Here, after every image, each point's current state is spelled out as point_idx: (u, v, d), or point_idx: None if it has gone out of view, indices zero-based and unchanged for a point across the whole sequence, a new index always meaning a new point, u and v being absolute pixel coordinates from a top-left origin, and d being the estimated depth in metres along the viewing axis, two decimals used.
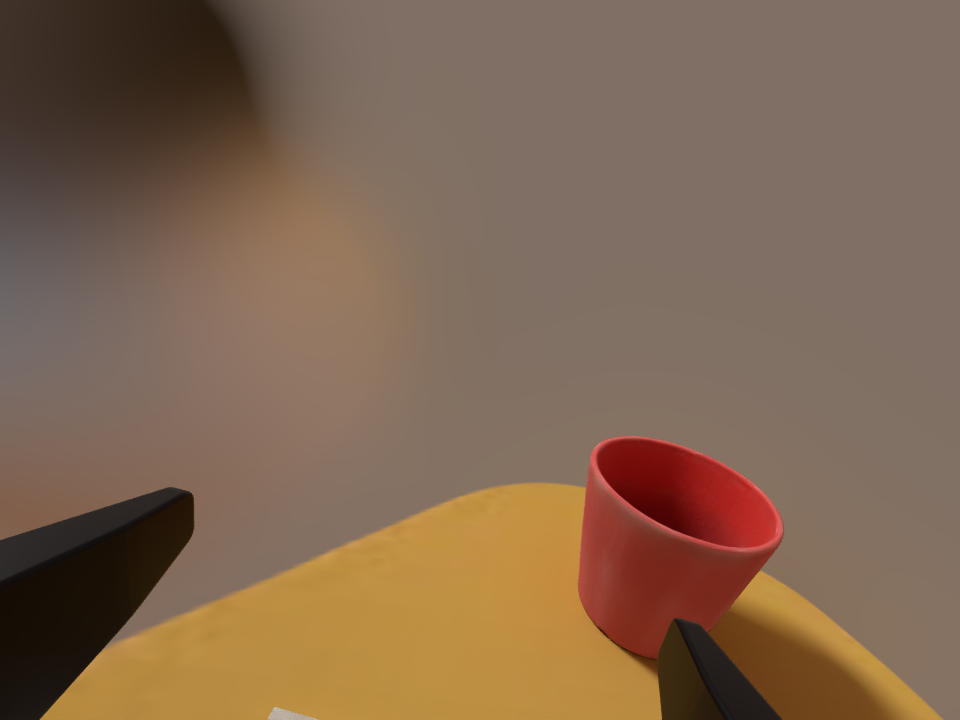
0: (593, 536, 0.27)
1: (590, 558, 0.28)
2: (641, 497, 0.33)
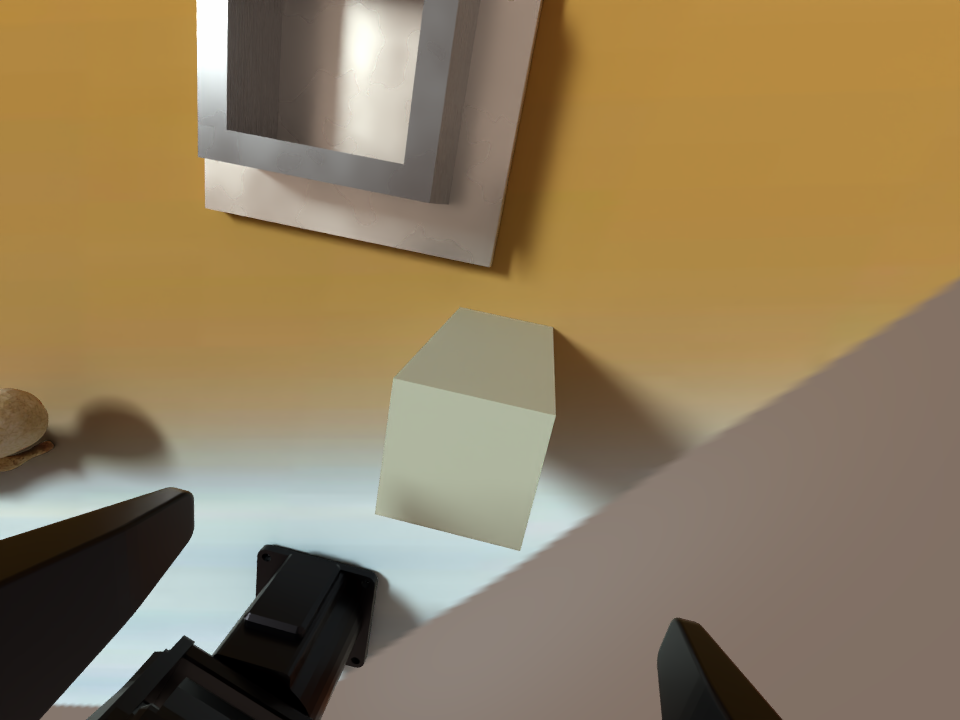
0: None
1: None
2: None
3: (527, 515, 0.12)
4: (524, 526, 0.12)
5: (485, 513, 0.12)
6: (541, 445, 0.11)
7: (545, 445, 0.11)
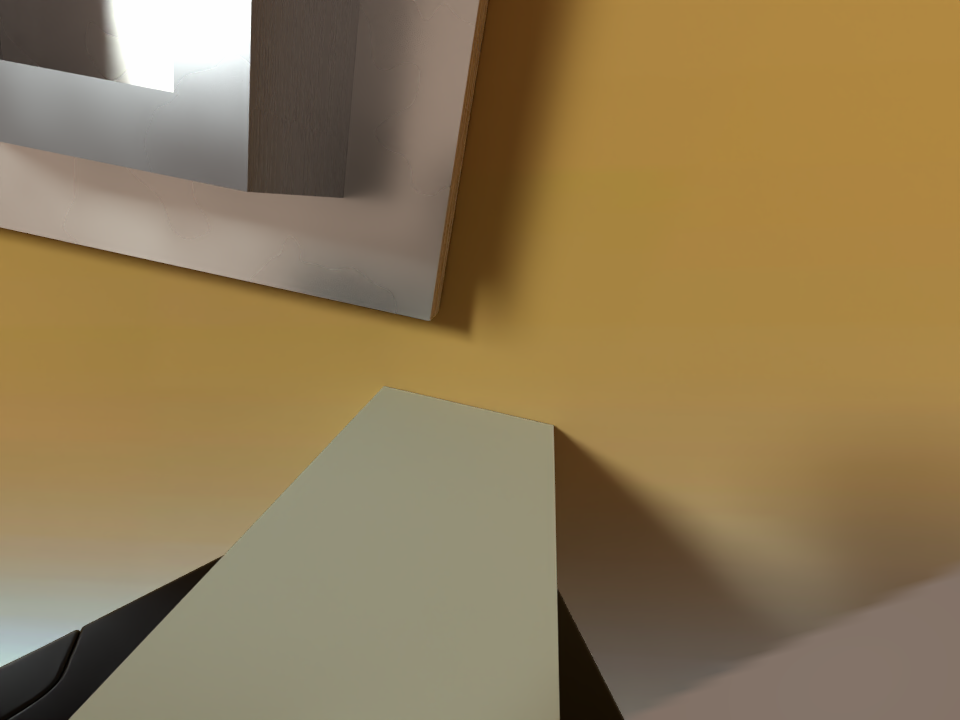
0: None
1: None
2: None
3: None
4: None
5: None
6: None
7: None
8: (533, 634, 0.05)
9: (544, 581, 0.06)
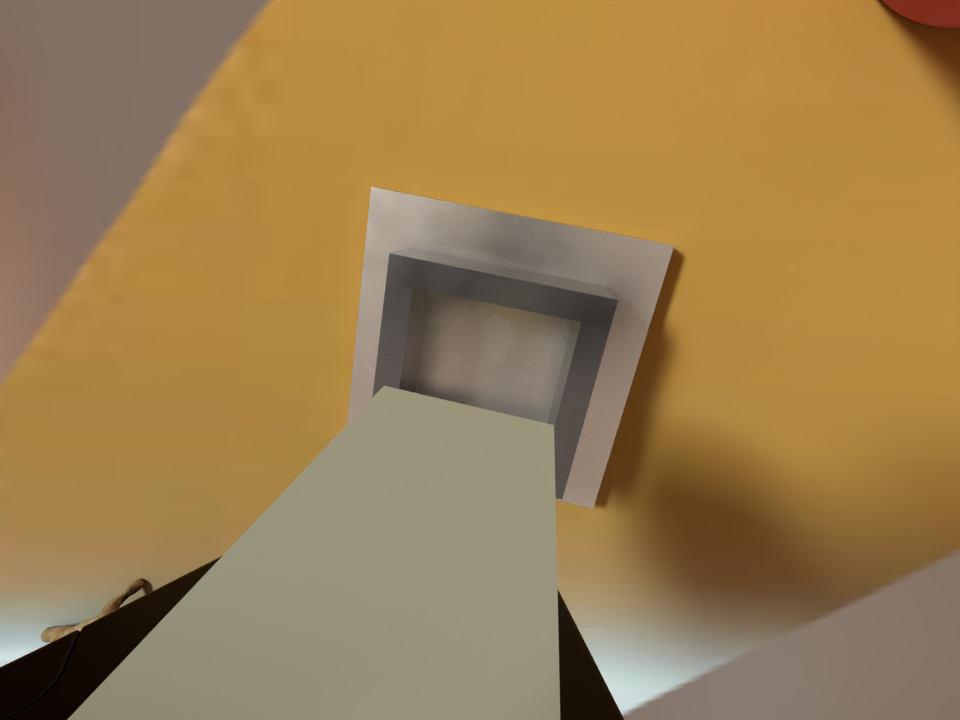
0: None
1: None
2: None
3: None
4: None
5: None
6: None
7: None
8: (534, 634, 0.05)
9: (545, 581, 0.06)
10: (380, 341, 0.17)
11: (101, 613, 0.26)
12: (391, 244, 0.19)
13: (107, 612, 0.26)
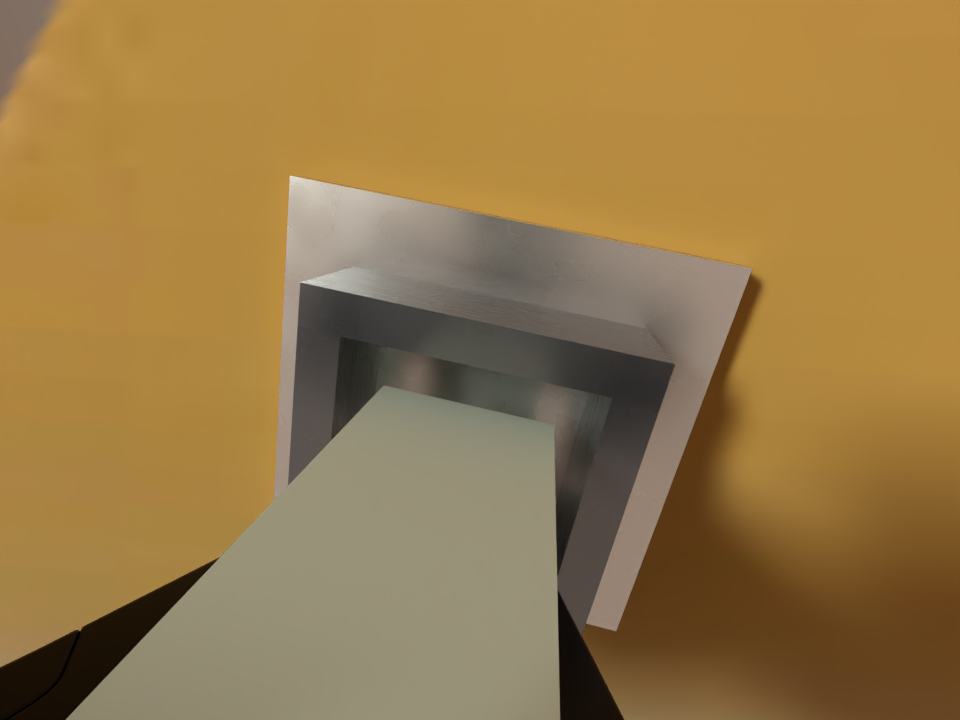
0: None
1: None
2: None
3: None
4: None
5: None
6: None
7: None
8: (533, 634, 0.05)
9: (544, 580, 0.06)
10: (294, 417, 0.11)
11: None
12: (323, 261, 0.13)
13: None
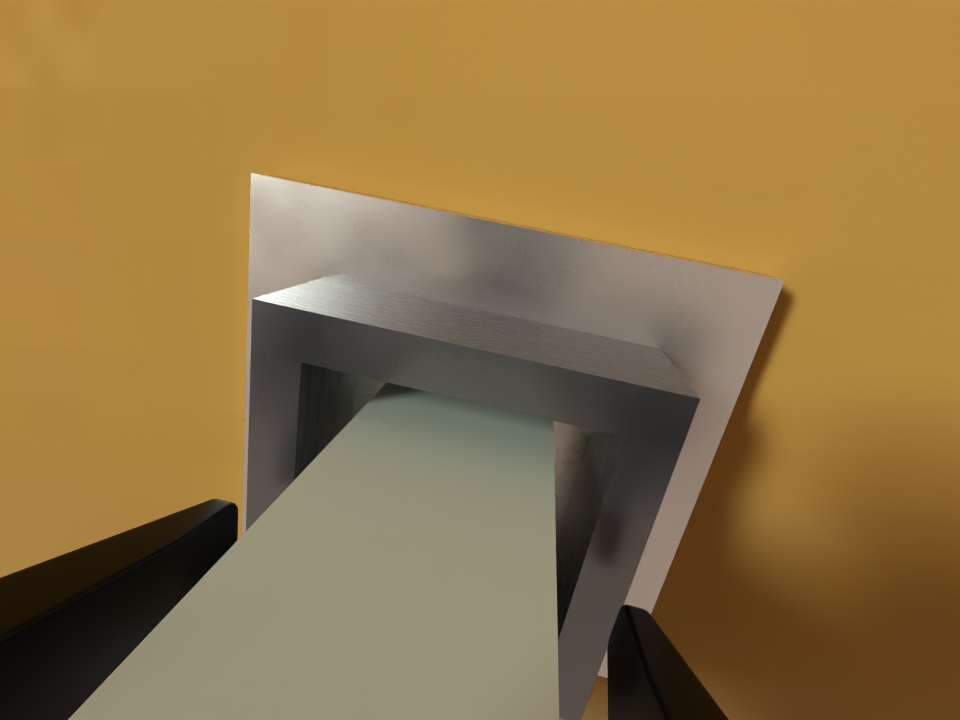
0: None
1: None
2: None
3: None
4: None
5: None
6: None
7: None
8: (535, 572, 0.06)
9: (544, 533, 0.07)
10: (250, 455, 0.09)
11: None
12: (291, 271, 0.11)
13: None
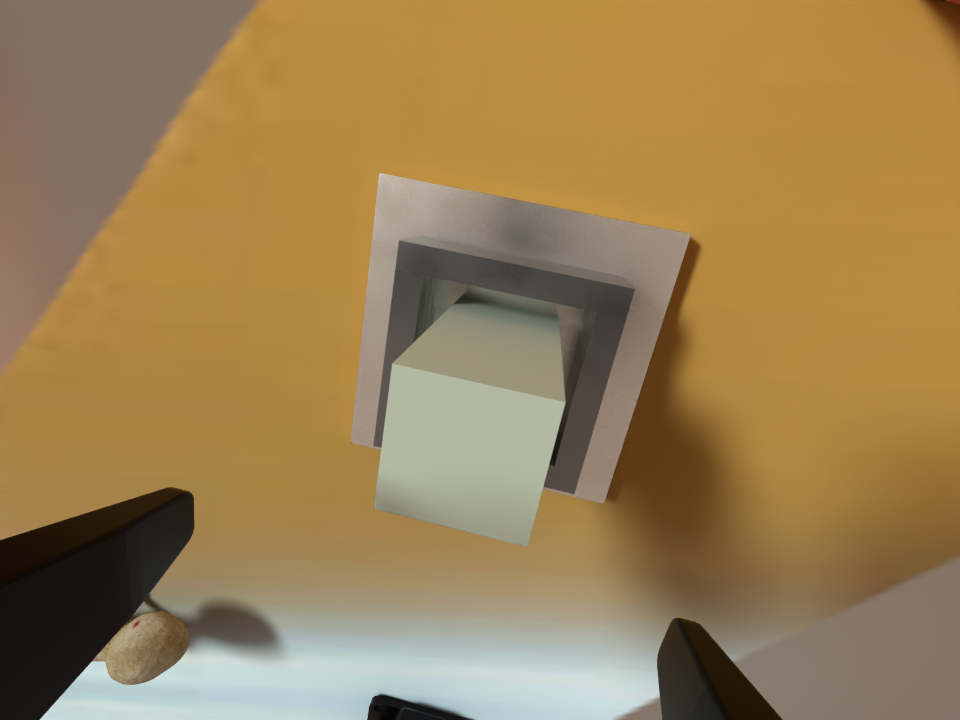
0: None
1: None
2: None
3: (535, 509, 0.11)
4: (532, 520, 0.11)
5: (490, 507, 0.11)
6: (550, 434, 0.11)
7: (554, 434, 0.11)
8: (552, 355, 0.14)
9: (555, 347, 0.14)
10: (389, 331, 0.17)
11: None
12: (399, 232, 0.19)
13: None
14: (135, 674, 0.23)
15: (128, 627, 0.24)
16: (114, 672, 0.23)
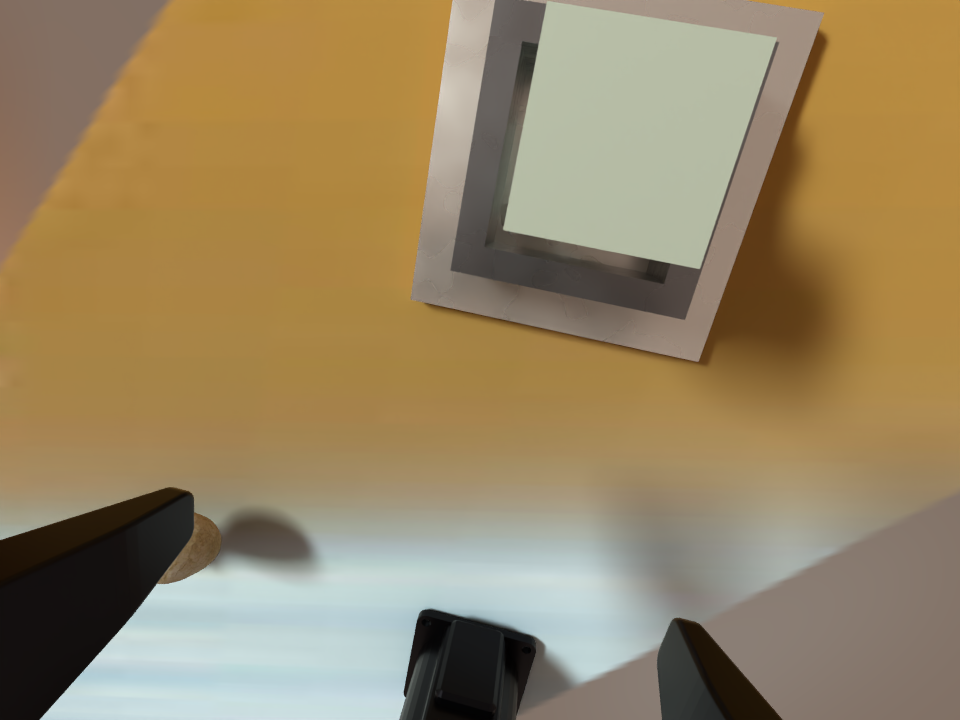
0: None
1: None
2: None
3: (716, 210, 0.09)
4: (710, 228, 0.09)
5: (657, 213, 0.09)
6: (750, 90, 0.08)
7: (756, 89, 0.08)
8: None
9: None
10: (477, 118, 0.14)
11: None
12: (479, 30, 0.16)
13: None
14: None
15: None
16: None
